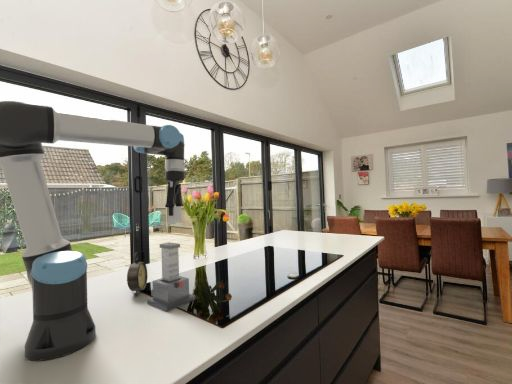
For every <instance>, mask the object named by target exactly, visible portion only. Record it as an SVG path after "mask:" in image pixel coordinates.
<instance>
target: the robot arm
mask: <svg viewBox="0 0 512 384" xmlns="http://www.w3.org/2000/svg"><path fill="white" fill-rule="evenodd" d="M57 141H58V142H59V141H64V142H74V143H75V142H77V143H89V144H100V145H101V144H102V145H113V146H125V147H133V150H134V152H136V153H139V154H144V155H146V154H149V155H159V156H164V170H165V172H164V173H165V174H164V180H165V181H167V193H166V203H165V208H167V225H176V222H177V223H178V222H179V223H181V222H182V219H183V218H182V207H184V203H183V197H182V185H181V183H180V182H183V181H185V172H184V171H185V166H186V162H185V146H186V145H185V137H184V135H183V133H181V132H180V130H179V129H178V128H177V127H176V126H174V125H172V124H165V125H163V126H160V125H159V126H158V125H149V124H145V123H143V124H142V123H137V122H129V121H123V120H118V119H117V120H115V119H111V118H110V119H109V118H102V117H96V116H88V115H83V114H82V115H81V114H77V113H69V112H62V111H61V112H60V111H58V110H57V109H55V108H54V106H49V105H42V104H36V103H35V104H34V103H30V102H21V101H17V100H16V101H13V100H4V101H3V100H2V101H0V167H1V169H2V173H3V177H4V179H5V182H6V187H7V188H8V192H9V196H10V199H11V202H12V205H13V208H14V211H15V215H16V218H17V222H18V223H19V225H18V226H19V228H20V231H21V234H22V236H23V241H24V243H25V247H26V248H25V250H24V252H23V253H22V254H21V258H22V261H23V264H24V266H25V270H26V277H27V280H28V282H29V284H30V286H31V289H32V292H31V293H32V314H33V315H32V323H31V326H30V329H29V332H28V335H27V338H26V341H25V343H24V357H25V358H26V359H28V360H30V361H47V360H52V359H57V358H60V357H64V356H67V355H70V354H72V353H74V352H77V351H78V350H81V349H83V348H85V346H87V345H88V344H90V343H91V342H92V341H93V340H94V339H95V337H96V334H97V333H96V328H97V327H96V324H95V322H94V320H93V318H92V315H91V313H90V310H89V307H88V275H87V274H88V273H87V271H88V270H87V269H88V262H87V258H86V255H85V254H84V253H82V252H79V251H73V248H72V244H71V242H70V240H67V239H66V238H64V237H63V235H62V232H61V230H60V229H61V228H60V225H59V223H58V219H57V214H56V212H55V209H54V204H53V202H52V198H51V194H50V191H49V187H48V183H47V180H46V177H45V174H44V170H43V166H42V163H41V161H42V160H43V159H44V157H45V151H44V147H43V144H55V143H56V142H57Z"/></svg>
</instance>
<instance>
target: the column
mask: <svg viewBox="0 0 512 384" xmlns="http://www.w3.org/2000/svg"><path fill="white" fill-rule="evenodd" d="M159 248H160V249H161V250H160V251H161V278H162V281H163V282H166V283H171V282H174V281H177V280H179V276H180V266H179V265H180V264H179V263H180V260H179V259H180V258H179V257H180V256H179V248H181V243H176V242H165V243H164V242H163V243H161V244H159Z"/></svg>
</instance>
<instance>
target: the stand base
mask: <svg viewBox="0 0 512 384" xmlns="http://www.w3.org/2000/svg"><path fill="white" fill-rule="evenodd" d="M194 301H196V295H194V294H192V293H190V279H189V277H186V276H185V277H184V276H181V275H179V280H177V281H174V282H171V283H166V282H163V281H162V277H161V278H158V279H154V280H152V297H151V298H150V297H149V298H147V299H146V304H147V305H149V306H151V307H154V308H155V309H159V310H161V311H163V312H166V313H167V312H170V311H173V310H175V309H177V308H179V307H181V306H184V305H186V304H188V303H191V302H194Z"/></svg>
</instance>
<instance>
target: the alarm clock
mask: <svg viewBox="0 0 512 384" xmlns="http://www.w3.org/2000/svg"><path fill="white" fill-rule="evenodd" d="M138 254H139V252H137V251H136V252H135V254H134V261H135V262H133V263H131V264H130V266H129V267H128V269H127V274H126V283H127V286H128V288H129V290H130V291H131V293H133V292H135V297H138V294H139V292H140V291H144V290H146V289H145V288H146V286H147V284H148V268H147V264H146V263H145V262H144V261H139V260H138V258H139V255H138ZM138 261H139V262H138Z"/></svg>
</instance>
